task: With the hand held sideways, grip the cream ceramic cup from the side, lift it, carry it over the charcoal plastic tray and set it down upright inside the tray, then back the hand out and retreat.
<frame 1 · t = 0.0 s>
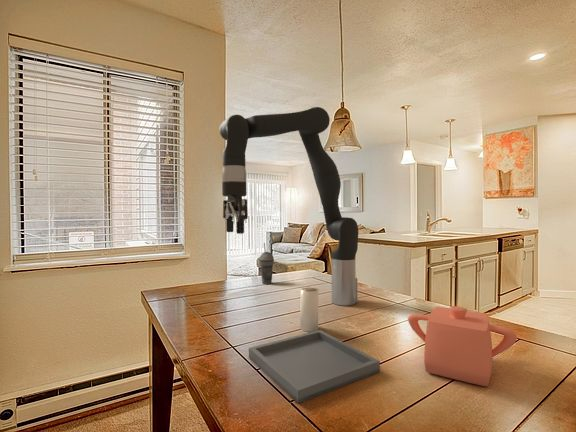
hand: (234, 232, 101), 29 cm above the table, tool pointing down, fingers open, 8 cm apart
teapot: (458, 364, 76), on the table
beverage cup: (266, 283, 159), on the table
cream cup: (309, 328, 99), on the table
charcoal tray: (311, 364, 76), on the table
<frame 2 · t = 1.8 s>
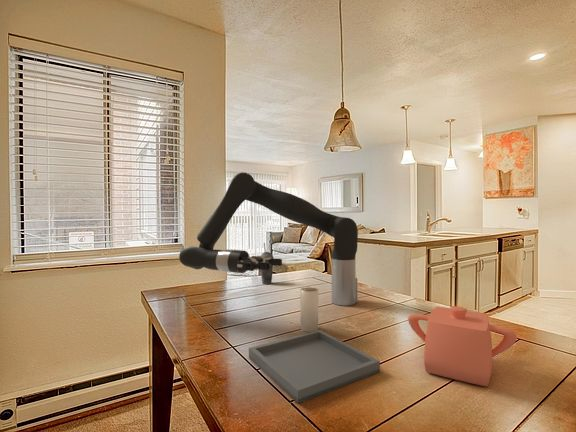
hand: (276, 264, 103), 19 cm above the table, tool horizontal, fingers open, 8 cm apart
nothing on the table moved.
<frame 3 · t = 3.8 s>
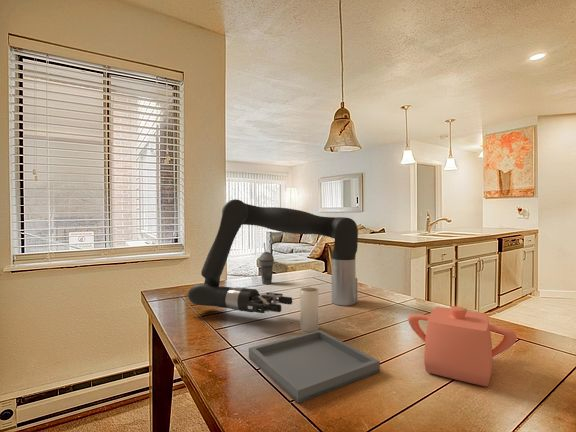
hand: (286, 304, 102), 6 cm above the table, tool horizontal, fingers open, 8 cm apart
nothing on the table moved.
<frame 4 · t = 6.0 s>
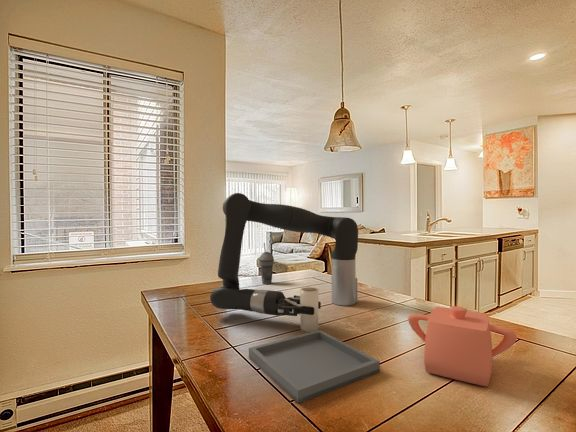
hand: (317, 308, 98), 7 cm above the table, tool horizontal, fingers closed on cream cup, 5 cm apart
cream cup: (309, 328, 99), on the table, touching gripper
everything else where it was.
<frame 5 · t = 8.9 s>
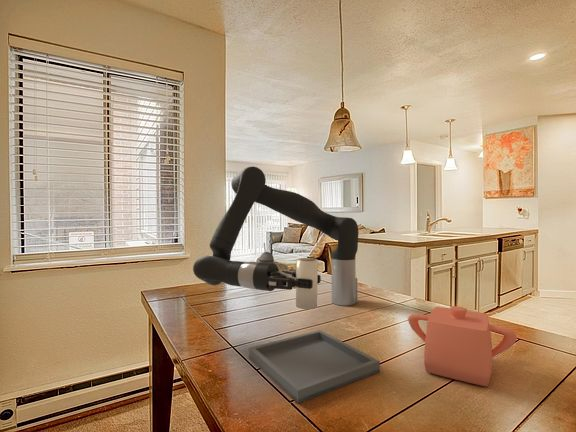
hand: (316, 281, 82), 18 cm above the table, tool horizontal, fingers closed on cream cup, 5 cm apart
cream cup: (306, 305, 83), point 12 cm above the table, touching gripper
everything else where it was.
when the fingers open (9 cm above the table, at t = 11.7 s): cream cup drops 1 cm, resting on charcoal tray.
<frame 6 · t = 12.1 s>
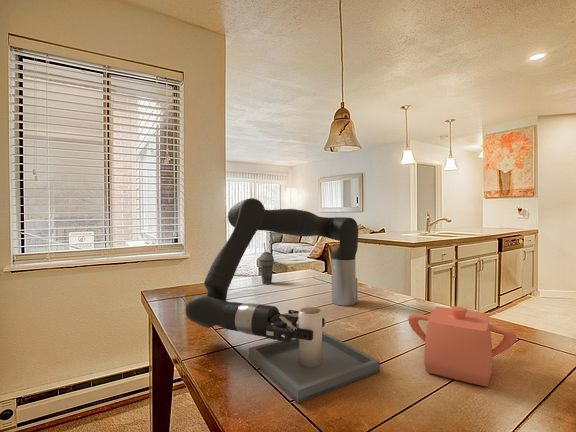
hand: (318, 328, 75), 9 cm above the table, tool horizontal, fingers open, 8 cm apart
cream cup: (310, 361, 76), point 1 cm above the table, touching charcoal tray
everything else where it was.
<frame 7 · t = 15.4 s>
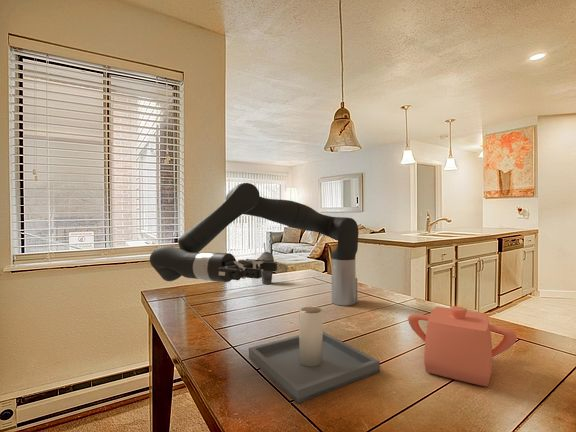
hand: (269, 270, 80), 22 cm above the table, tool horizontal, fingers open, 8 cm apart
nothing on the table moved.
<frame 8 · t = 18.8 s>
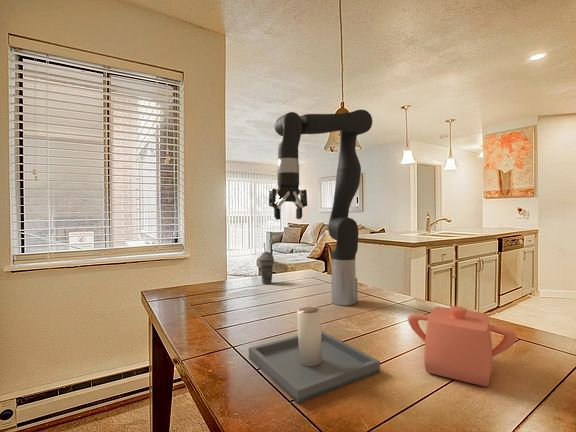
hand: (288, 219, 112), 33 cm above the table, tool pointing down, fingers open, 8 cm apart
nothing on the table moved.
at the end: cream cup inside the target area on the charcoal tray (0.1 cm from its centre), point 0.9 cm above the charcoal tray's base; cream cup tilted 2°; the gripper is holding nothing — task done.
